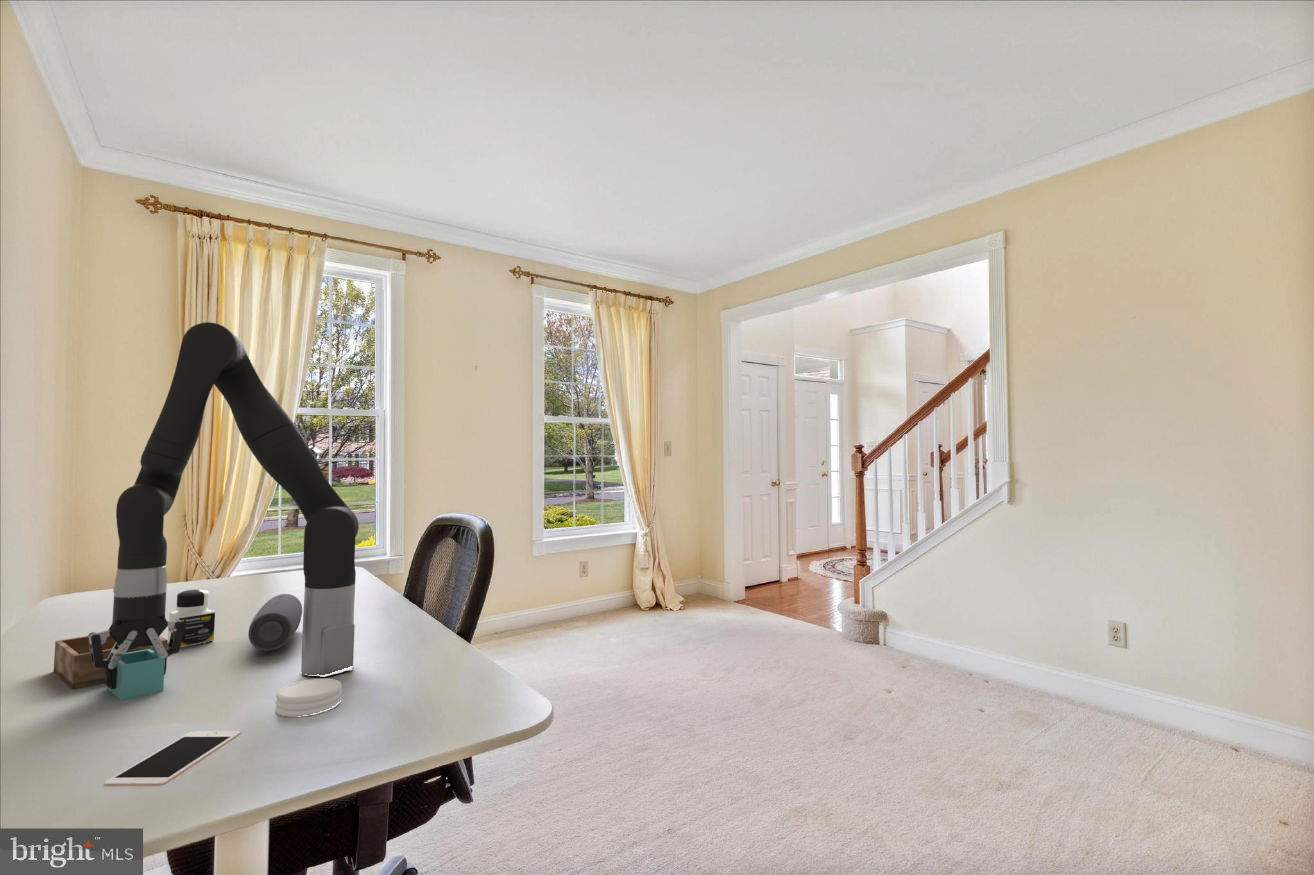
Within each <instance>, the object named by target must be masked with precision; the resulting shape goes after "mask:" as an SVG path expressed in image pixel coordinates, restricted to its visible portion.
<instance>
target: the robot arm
mask: <svg viewBox="0 0 1314 875" xmlns="http://www.w3.org/2000/svg"><path fill="white" fill-rule="evenodd" d="M214 386H215V387H216V388H217V390H218V392H220V394H221V395H222V396H223V398H224V399H225V401H226V403H227V404H228V406H229V409H230V410H231V414H232V416H233V419H234V421H235V423H236V426H237V428H238V430H239V433H240V434H241V436H242V439H243V440H244V443H245V444H246V445H247V446H248V448H249V450H250V452H251V453H252V455H253V456H254V457H255V459H256V461H257V462H258V463H259V465H260V466H261V467H262V469H264V470H265V471H266V473H267V474H268V475H269V476H270V477H271V478H272V479H273V480H274V481H275V482H276V483H277V484H278V485H279V486H280V487H281V488H283V490H284V491H285V492H286V493H287V494H288V495H289V497H291V498H292V500H293V501H294V502H295V504H296V505H297V507H298V509H299V510H300V512H301V514H302V516H303V517H304V520H305V521H306V523H305V526H304V532H303V533H304V534H303V560H302V561H303V576H304V592H303V594H304V596H303V611H302V615H303V616H302V617H303V618H302V637H301V638H302V642H301V666H300V668H301V669H300V670H301V672H302V674H307V675H317V674H319V675H325V674H330V673H332V672H335V671H338V670H342V669H344V668H348V667H350V666H353V667H354V655H355V653H354V652H355V627H356V625H355V622H354V621H355V599H356V598H355V597H356V577H357V576H356V575H357V574H356V572H357V571H356V563H355V562H356V561H355V558H356V537H357V536H358V533H359V526H360V525H359V521H358V518H357V516H356V514H355V513H354V511H352V509H351V508H350V507H349V506H348V505H347V504H346V503H345V502H344V500H343V499H342V498H341V496H339V494H338V493H337V491H336V490H335V489H334V488H333V487H332V485H331V484H330V483H329V481H328V479H327V478H326V476H325V475H324V472H323V471H322V468H321V466H320V464H319V462H318V461H317V459H316V457H315V455H314V453H313V452H312V450H311V449H310V447H309V445H308V444H307V441H306V440H305V439H304V437H303V434H302V433H301V432H300V431H299V429H298V428H297V426H296V425H295V423H294V421H293V420H292V418H291V417H290V416H289V415H288V413H287V411H285V409H284V408H283V407H282V406H281V404H280V403H279V401H277V400H276V398H275V397H274V396H273V394H271V392H270V391H269V390H268V389H267V388H266V386H265V385H264V383H263V381H262V379H261V378H260V377H259V375H258V372H257V371H256V369H255V368H254V366H253V364H252V361H251V359H250V357H249V355H248V353H247V351H246V349H245V347H244V344H243V343H242V341H241V340H240V338H239V337H238V336H237V335H235V334H234V333H233V332H232V330H230V329H228V328H227V327H226V326H224V325H221V324H220V323H215V322H211V321H209V322H208V321H206V322H205V321H204V322H201V323H197V324H195V325H193V326H191V327H190V328H189V329H188V330H187V331H186V332H185V333H184V334H183V337H182V341H181V344H180V349H179V351H178V357H177V361H176V366H175V371H174V375H173V378H172V381H171V383H170V387H169V390H168V393H167V396H166V398H165V402H164V404H163V406H162V409H161V411H160V414H159V416H158V419H157V421H156V423H155V425H154V427H153V430H152V432H151V434H150V435H149V438H148V441H147V443H146V445H145V447H144V450H143V452H142V454H141V457H140V466H141V467H140V469H139V472H138V475H137V477H136V480H135V482H134V484H133V485H132V486H130V487H128V488H126V489H125V490H124V491H122V492H121V494H120V495H119V497H118V499H117V503H116V509H115V510H116V511H115V512H116V513H115V514H116V515H115V517H116V518H115V520H116V527H117V536H118V540H119V546H118V551H117V552H118V553H117V568H116V569H117V570H116V574H115V578H114V586H113V590H112V591H113V603H112V606H113V607H112V620H111V624H110V627H109V628H108V630H102V631H99V632H95V631H92V632H89V634H88V635H87V636H88V640H89V648H90V655H91V663H92V664H93V665H94V666H95V667H97V668H105V675H104V683H103V684H104V685H105V687H106V688H107V687H109V689H111V690H112V689H116V681H117V668H116V666H117V664H118V662H119V661H120V659H121V657H122V656H124V654H125V653H126V651H127V649H134V648H137V647H139V646H141V647H146V646H151V648H152V649H153V651H154V652H156V653H157V654H159V655H161V656H163V657H165V666H164V676H165V675H166V673H167V663H166V660H167V659H168V657H170V656H172V655H174V654H178V653H179V652H180V649H181V648H180V646H181V641H182V636H183V632H184V627H185V622H183V621H181V620H175V621H169V620H167V619H166V606H167V605H166V604H167V603H166V602H167V587H168V586H167V585H168V584H167V583H168V574H167V573H168V572H167V556H168V542H167V539H166V537H165V536H164V525H165V524H164V522H165V521H164V519H165V518H164V517H165V515H167V513H169V511H170V510H171V508H172V506H173V504H174V501H175V499H176V496H177V494H178V491H179V488H180V483H181V480H182V477H183V473H184V471H185V469H186V467H187V465H188V464H189V460H190V458H191V456H192V454H193V452H194V449H195V447H196V445H197V442H198V439H199V437H200V433H201V430H202V429H201V428H202V425H203V419H204V414H205V409H206V405H207V402H208V400H209V399H208V398H209V396H210V393H211V391H212V389H213V387H214ZM167 628H168V629H169V631H170V632H171V636H170V641H169V643H168V644H167V648H164V646H163V644H162V642H161V641H160V639H159V636H161V635H162V633H164V631H165V629H167ZM108 636H111V637H112V638H113V639H114V640H115V641H116V643H115V645H114V646H113V648H112V650H111V653H110V655H109V656H108V658H107V659H103V652H102V644H104V643H105V642H106V638H107V637H108ZM302 674H301V675H302Z"/></svg>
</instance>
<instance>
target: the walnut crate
mask: <svg viewBox="0 0 1314 875" xmlns="http://www.w3.org/2000/svg"><path fill="white" fill-rule="evenodd" d="M159 639H160V641H161V642H162V644H163V646H164V648H167V647H168V645H169V643H168V638H165V637H163V636H161V635H160V636H159ZM115 643H116V641H115V640H114V639H113V638H112V637H111V636H108V637H107V638H106V642H105V643H104V644H102V652H103V659H107V658H108V656H109V655H110V653H111V650H112V648H113V646H114V645H115ZM146 649H151V650H153V649H152V648H151V646H146V647H141V646H139V647H137V648H134V649H127V651H126V653H129V652H135V651H140V650H146ZM53 659H54V660H53V673H54V674H55V675H56V676H58V677H59V678H60V679H61V680H62V681H63V682H64V681H65V682H64V683H65V684H66V683H67V684H68V685H67V684H66V685H67V686H68V687H69V686H70V689H72V690H74V689H75V688H76V689H81V688H87V687H90V686H94V684H96V685H99V683H101V684H104V675H105V668H97V667H95V666H94V665H93V664H92V663H91V655H90V648H89V640H88V635H86V636H80V637H78V636H77V637H72V638H67V639H60V640H55V644H54V658H53ZM166 664H167V660H166Z"/></svg>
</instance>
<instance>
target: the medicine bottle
mask: <svg viewBox="0 0 1314 875" xmlns="http://www.w3.org/2000/svg"><path fill="white" fill-rule="evenodd" d="M209 599H210V591H209V590H207V589H206V590H205V589H199V588H198V589H188V590H183V591H181V592H179V593H177V595H176V609H175V611H174V610H173V611H170V612H169V614H168V621H175V620H181V621H183V622H185V627H184V632H183V636H182V641H181V646H180V649H181V648H185V647H191V646H196V645H197V644H198V645H202V644H201V643H203V644H207V643H206V642H209V641H213V642H214V641H215V626H216V625H215V623H216V611H214V610H211V609H209V608H208V607H209V602H210V600H209ZM167 632H168V634H167V640H168V644H169V641H170V636H171V632H170V631H169V628H168V631H167ZM209 643H210V642H209Z"/></svg>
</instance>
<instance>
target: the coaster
mask: <svg viewBox="0 0 1314 875" xmlns="http://www.w3.org/2000/svg"><path fill="white" fill-rule="evenodd" d="M342 688H343V685H342V682H340V681H339V680H337V679H334V678H333V679H332V678H312V679H305V680H299V681H296V682H292V683H289V684H287V685H285V686H283V687H281V688H280V689H279V690H278V691H277V693H276V694H275V698H276V701H275V706H276V707H275V709H274V710H275V713H276V714H277V715H278V714H279V715H278V716H280V715H282V716H281V717H284V716H287V717H286V718H299V717H298V716H303V715H310V714H313V713H318V712H320V711H324V710H326V709H329V708H332V706H335V705H336V704H337V703H338V702H340V700H341V698H342V695H343V691H342ZM341 701H342V700H341Z"/></svg>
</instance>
